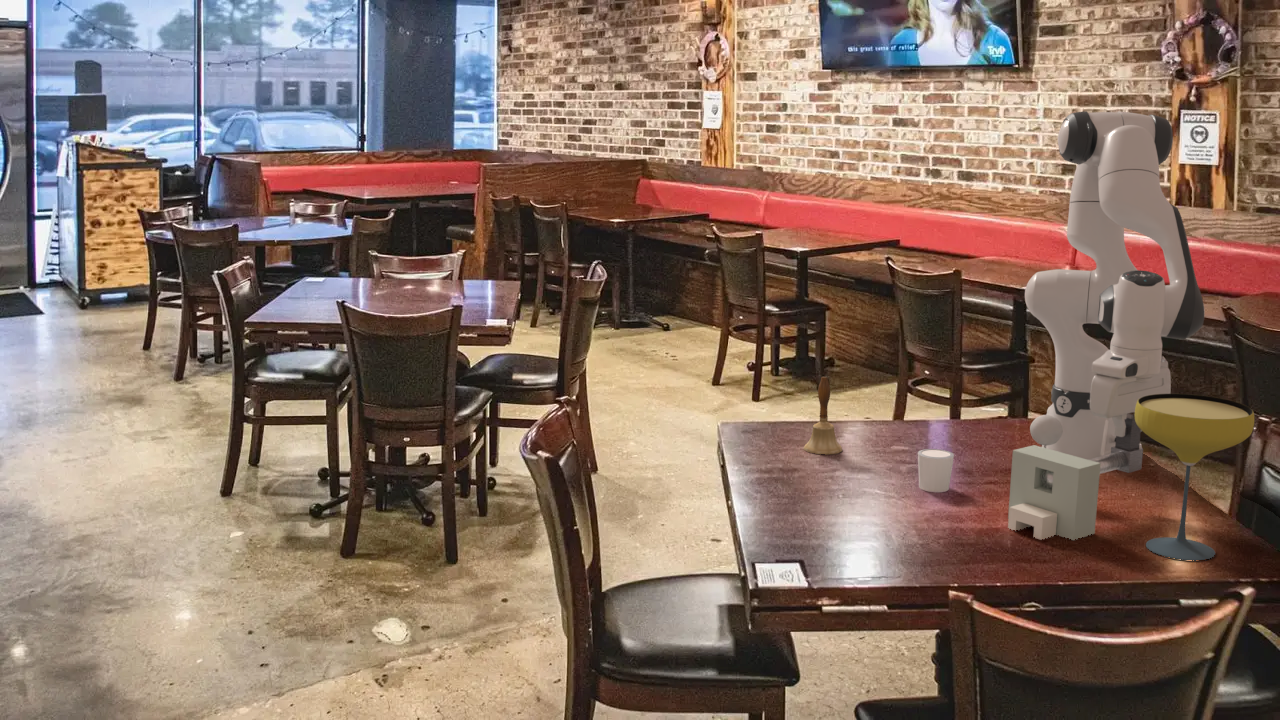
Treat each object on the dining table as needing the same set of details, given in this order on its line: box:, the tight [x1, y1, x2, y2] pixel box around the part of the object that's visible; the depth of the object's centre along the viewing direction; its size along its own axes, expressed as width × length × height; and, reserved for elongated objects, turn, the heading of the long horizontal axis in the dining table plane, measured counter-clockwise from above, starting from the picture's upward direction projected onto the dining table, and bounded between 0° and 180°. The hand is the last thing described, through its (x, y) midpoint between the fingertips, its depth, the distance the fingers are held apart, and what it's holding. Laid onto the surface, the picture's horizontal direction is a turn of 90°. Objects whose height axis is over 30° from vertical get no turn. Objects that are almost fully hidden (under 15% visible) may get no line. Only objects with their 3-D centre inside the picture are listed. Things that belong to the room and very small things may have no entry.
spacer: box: [1007, 503, 1057, 541], centre depth 221 cm, size 4×7×4 cm, turn 35°
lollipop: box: [1029, 414, 1063, 448], centre depth 244 cm, size 6×6×15 cm
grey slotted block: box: [1007, 444, 1101, 541], centre depth 224 cm, size 6×14×13 cm, turn 35°
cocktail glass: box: [1134, 393, 1255, 562], centre depth 211 cm, size 18×18×25 cm
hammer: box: [1041, 413, 1144, 488], centre depth 229 cm, size 25×4×10 cm, turn 125°
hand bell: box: [803, 376, 843, 456], centre depth 271 cm, size 8×8×16 cm
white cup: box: [917, 448, 955, 493], centre depth 246 cm, size 7×7×7 cm
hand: (1128, 434), depth 234 cm, fingers closed on hammer, 3 cm apart
